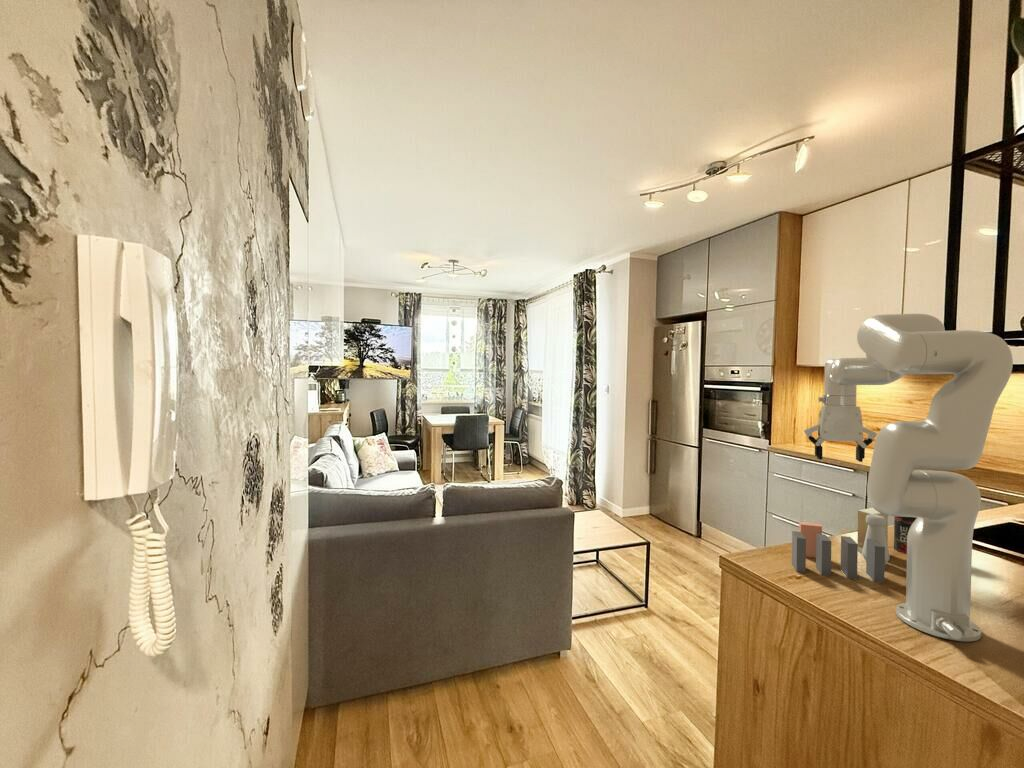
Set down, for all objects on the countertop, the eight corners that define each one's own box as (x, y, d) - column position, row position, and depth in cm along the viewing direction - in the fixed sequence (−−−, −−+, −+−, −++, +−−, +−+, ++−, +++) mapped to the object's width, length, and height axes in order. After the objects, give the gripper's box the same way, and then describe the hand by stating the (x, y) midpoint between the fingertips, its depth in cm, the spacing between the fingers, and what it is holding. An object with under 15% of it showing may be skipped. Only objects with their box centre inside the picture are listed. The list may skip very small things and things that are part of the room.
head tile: (819, 555, 124) (819, 524, 124) (821, 558, 122) (822, 526, 122) (798, 553, 126) (799, 522, 126) (800, 556, 124) (800, 524, 124)
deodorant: (893, 551, 127) (894, 499, 126) (893, 544, 131) (894, 494, 131) (922, 556, 123) (923, 503, 122) (920, 550, 127) (922, 498, 127)
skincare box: (871, 548, 129) (872, 506, 128) (888, 554, 125) (889, 511, 124) (856, 551, 127) (856, 509, 126) (872, 557, 123) (873, 514, 122)
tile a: (805, 573, 114) (805, 538, 114) (796, 571, 115) (796, 537, 114) (800, 565, 119) (800, 531, 118) (791, 563, 119) (792, 531, 119)
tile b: (830, 576, 112) (831, 541, 112) (821, 575, 113) (822, 540, 112) (824, 568, 117) (825, 534, 116) (815, 566, 117) (816, 533, 117)
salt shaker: (879, 559, 122) (880, 512, 121) (895, 568, 116) (896, 519, 115) (856, 558, 122) (857, 512, 122) (871, 567, 116) (872, 519, 116)
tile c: (857, 579, 110) (857, 544, 110) (847, 578, 111) (848, 543, 110) (849, 571, 115) (850, 536, 114) (840, 570, 115) (841, 536, 115)
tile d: (884, 583, 108) (884, 547, 108) (874, 582, 109) (874, 546, 109) (875, 574, 113) (876, 539, 113) (866, 573, 114) (866, 538, 113)
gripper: (808, 401, 128) (807, 460, 129) (881, 403, 122) (880, 464, 122) (802, 400, 135) (801, 455, 136) (871, 401, 129) (870, 459, 129)
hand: (839, 459), depth 129 cm, fingers open, 9 cm apart
